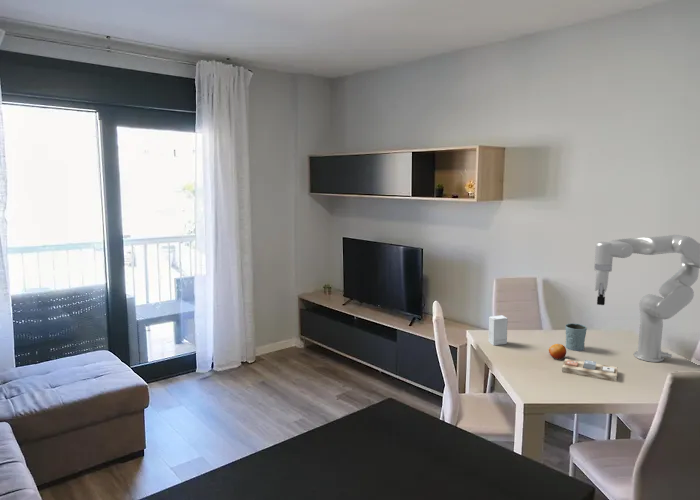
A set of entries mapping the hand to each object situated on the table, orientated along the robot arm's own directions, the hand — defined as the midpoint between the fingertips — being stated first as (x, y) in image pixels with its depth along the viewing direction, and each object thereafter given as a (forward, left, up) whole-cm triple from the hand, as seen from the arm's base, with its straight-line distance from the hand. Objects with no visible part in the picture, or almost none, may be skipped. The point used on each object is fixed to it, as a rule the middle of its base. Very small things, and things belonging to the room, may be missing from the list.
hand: (600, 304), depth 238 cm
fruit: (+17, +10, -27) cm, 34 cm away
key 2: (+2, +22, -25) cm, 33 cm away
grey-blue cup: (+11, -9, -27) cm, 31 cm away
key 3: (+9, +22, -26) cm, 36 cm away
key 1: (-6, +22, -26) cm, 35 cm away
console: (+2, +22, -27) cm, 35 cm away
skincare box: (+48, +3, -27) cm, 55 cm away
